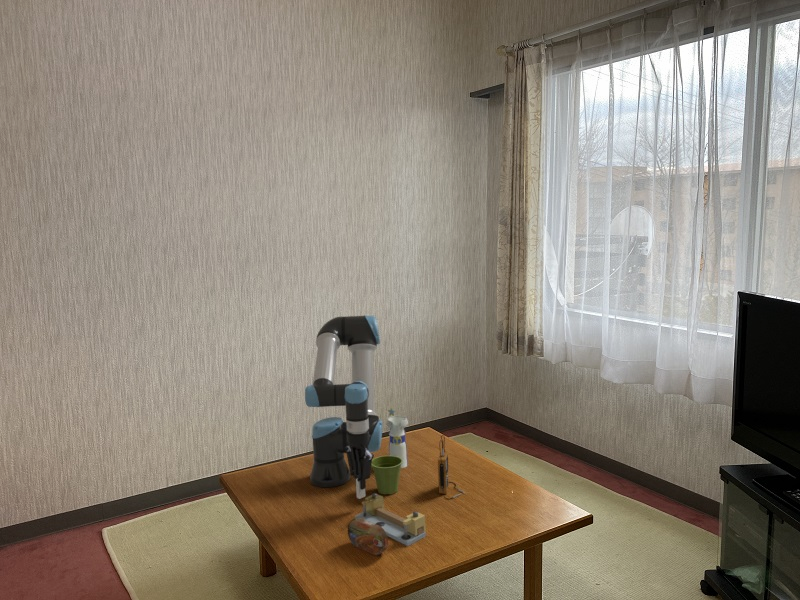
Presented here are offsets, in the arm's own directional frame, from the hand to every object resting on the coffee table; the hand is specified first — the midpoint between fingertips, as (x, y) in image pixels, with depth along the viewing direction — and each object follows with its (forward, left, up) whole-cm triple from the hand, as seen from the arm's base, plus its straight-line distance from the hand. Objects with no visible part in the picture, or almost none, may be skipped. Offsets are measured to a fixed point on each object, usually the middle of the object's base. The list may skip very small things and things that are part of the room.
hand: (361, 496), depth 212 cm
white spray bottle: (-18, +35, -5) cm, 39 cm away
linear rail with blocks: (+16, -2, -4) cm, 17 cm away
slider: (+7, -1, -3) cm, 8 cm away
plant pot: (-4, +16, -5) cm, 17 cm away
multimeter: (+14, +32, -5) cm, 35 cm away
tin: (+21, -15, -5) cm, 26 cm away
